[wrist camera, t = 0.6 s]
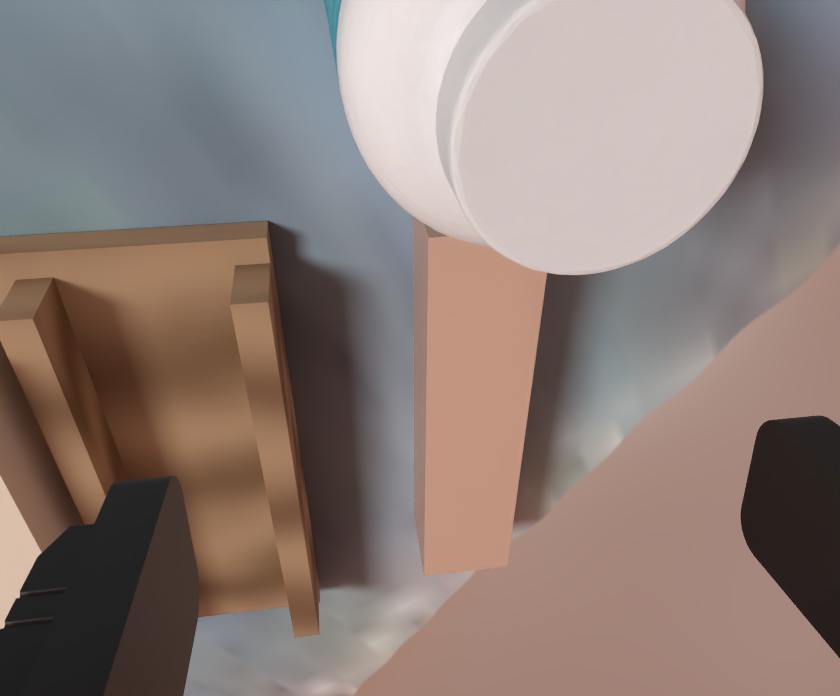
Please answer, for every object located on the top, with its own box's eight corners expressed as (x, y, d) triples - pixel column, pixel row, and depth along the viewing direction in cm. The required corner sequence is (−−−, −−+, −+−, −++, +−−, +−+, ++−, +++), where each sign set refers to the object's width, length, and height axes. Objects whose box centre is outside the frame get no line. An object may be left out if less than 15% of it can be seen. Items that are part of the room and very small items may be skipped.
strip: (-132, 315, 24) (-196, 394, 21) (-5, 306, 24) (-50, 382, 21) (43, 612, 35) (18, 692, 32) (127, 602, 35) (110, 681, 32)
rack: (-215, 249, 23) (-286, 312, 20) (267, 221, 25) (263, 275, 22) (17, 617, 37) (-6, 686, 34) (319, 582, 38) (320, 645, 36)
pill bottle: (296, 55, 22) (295, 306, 11) (352, -246, 17) (438, -301, 7) (517, 115, 24) (693, 371, 13) (615, -142, 20) (984, -64, 9)
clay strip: (412, 182, 25) (428, 237, 22) (521, 176, 26) (553, 229, 22) (413, 508, 36) (424, 576, 33) (489, 500, 37) (507, 566, 34)
